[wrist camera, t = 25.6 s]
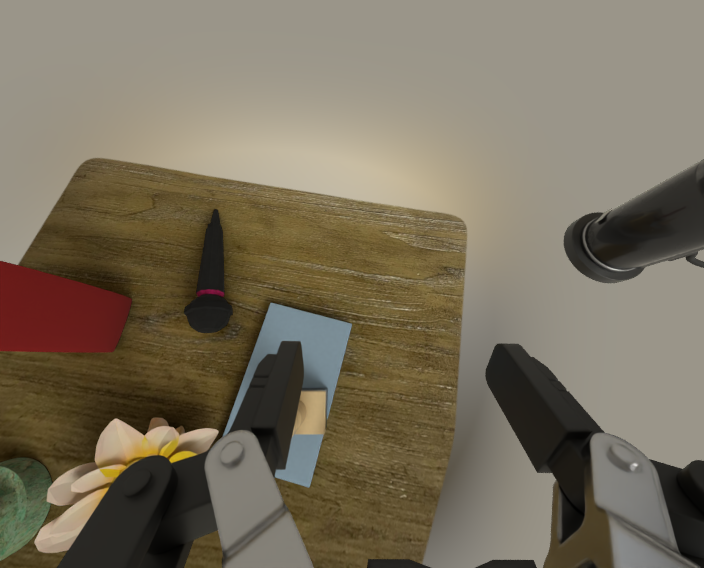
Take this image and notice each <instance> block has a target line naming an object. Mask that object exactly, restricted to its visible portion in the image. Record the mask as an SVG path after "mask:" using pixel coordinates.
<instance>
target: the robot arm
mask: <svg viewBox="0 0 704 568" xmlns="http://www.w3.org/2000/svg"><path fill="white" fill-rule="evenodd" d="M610 210H611V209H610ZM610 210H608V211H606V212H604V213H603V215H602V216H600V217H599V218H596V219H594V220H592V221H590V222H588V223H587V224H586V225H585V226H584V227H583V229H582V231H581V235H580V241H581V246H582V248H583V250H584V252H585V254H586V255H587V257H588V258H589V259H590V260H591V261H592V262H593V263H595V264H596V265H597V266H599V267H601V268H603V269H605V270H608V271H611V272H626V271H629V270H632V269H635V268H636V269H640V268H644V267H647V266H650V265H654V264H657V263H660V262H664V261H667V260H668V261H673V260H676V259H679V258H683V257H686V260H687V261H689V262H690V263H692V264H694V265H696V266H700V267H703V268H704V262H703V261H700V260H698V259H696V258H695V257H696V255H697V254H698V251H700V250H703V249H704V159H703V160H701V161H700V162H698V163H696V164H694V165H693V166H691V167H689V168H687V169H685V170H683V171H682V172H680V173H678V174H676V175H674V176H673V177H671V178H669V179H667V180H665V181H664V182H662V183H660V184H658V185H656V186H654V187H653V188H651V189H649V190H647V191H645V192H644V193H642V194H640V195H638V196H636V197H635V198H633V199H631V200H629V201H628V202H626V203H624V204H622V205H620V206H618V207H617V208H615V209H613V210H611V211H610ZM303 380H304V363H303V354H302V345H301V341H282V342H281V343H280V346H279V349H278V352H277V354H267V355H266V356H265V357H264V358H263V359H262V360H261V361H260V363H259V364H258V366H257V368H256V370H255V373H254V375H253V378H252V380H251V382H250V384H249V388H248V389H247V391H246V394H245V396H244V398H243V401H242V403H241V405H240V408H239V410H238V413H237V415H236V417H235V420H234V422H233V424H232V426H231V428H230V430H229V432H228V433H227V434H226V435H225V436H223V437H222V438H221V439H219V440H218V441H217V442H216V443H215V444H214V446H213V447H212V448H211V449H209V450H207V451H206V452H203V453H201V454H198V455H195V456H191V457H188V458H185V459H182V460H179V461H176V462H173V463H171V462H170V461H169V460H168V459H167V458H166V457H164V456H161V455H153V456H148V457H145V458H143V459H140V460H139V461H137V462H135V463H133V464H132V465H130V466H129V467H128V468H127V469H125V470H124V471H123V472H122V473H121V474H120V475H119V476H118V477H117V478H116V479H115V480H114V482H113V483H112V484H111V486H110V487H109V489H108V490H107V492H106V493H105V495H104V496H103V498H102V499H101V501H100V503H99V504H98V506H97V507H96V509H95V510H94V512H93V513H92V515H91V516H90V518H89V519H88V521H87V522H86V524H85V525H84V527H83V528H82V530H81V532H80V533H79V535H78V536H77V538H76V539H75V541H74V542H73V544H72V545H71V547H70V548H69V550H68V551H67V553H66V554H65V556H64V558H63V559H62V561H61V562H60V564H59V565H58V567H57V568H184V566H185V563H186V560H187V558H188V555H189V552H190V549H191V546H192V543H193V541H194V540H195V539H197V538H199V537H202V536H204V535H207V534H209V533H212V532H214V531H216V530H218V532H219V536H220V541H221V545H222V551H223V558H222V568H314V567H313V565H312V562H311V560H310V558H309V555H308V553H307V550H306V548H305V546H304V543H303V541H302V539H301V536H300V534H299V532H298V529H297V527H296V525H295V522H294V520H293V518H292V516H291V513H290V511H289V509H288V508H287V506H286V505H285V503H284V501H283V499H282V496H281V494H280V492H279V489H278V487H277V484H276V482H275V480H274V477H275V473H276V470H285V469H286V464H287V459H288V454H289V449H290V444H291V439H292V434H293V430H294V425H295V420H296V415H297V410H298V405H299V400H300V395H301V390H302V386H303ZM486 381H487V384H488V386H489V388H490V390H491V391H492V393H493V395H494V397H495V398H496V400H497V402H498V404H499V406H500V407H501V409H502V411H503V412H504V414H505V416H506V418H507V420H508V422H509V423H510V425H511V427H512V429H513V430H514V432H515V434H516V436H517V438H518V439H519V441H520V443H521V444H522V446H523V448H524V450H525V451H526V453H527V455H528V457H529V459H530V461H531V462H532V464H533V466H534V468H535V469H536V471H537V473H553V475H554V477H555V478H556V481H555V483H554V486H553V502H552V524H551V543H550V549H549V552H548V555H547V557H546V560H545V562H544V566H543V568H704V461H701V460H696V461H693V462H691V463H690V464H689V465H687V466H686V467H685V468H684V469H681V468H677V467H674V466H670V465H667V464H664V463H660V462H657V461H654V460H650V459H648V458H647V457H646V456H645V455H644V454H643V453H642V452H641V451H640V450H638V449H637V448H636V447H634V446H633V445H631V444H630V443H628V442H627V441H625V440H623V439H621V438H619V437H616V436H614V435H611V434H607V433H605V432H604V431H603V430H602V429H601V428H600V427H599V426H598V425H597V423H596V422H595V421H594V420H593V419H592V418H591V417H590V415H589V414H588V413H587V412H586V411H585V410H584V409H583V407H582V406H581V405H580V404H579V403H578V402H577V401H576V399H574V397H573V396H572V395H571V394H570V393H569V392H567V391H566V388H565V387H564V386H563V385H562V384H561V382H559V381H558V379H557V378H556V377H555V375H554V374H553V373H552V372H551V371H550V370H549V369H548V367H546V366H545V365H544V364H542V363H541V362H539V361H538V360H537V359H535V358H534V357H530V356H529V355H528V353H527V352H526V351H525V350H524V349H523V348H522V346H521V345H519V344H497V345H496V346H495V348H494V350H493V353H492V356H491V358H490V361H489V363H488V366H487V368H486ZM367 568H430V567H428V566H425V565H422V564H420V563H417V562H414V561H412V560H407V559H368V565H367ZM476 568H537V567H536V565H535V563H534V560H492V561H489V562H487V563H485V564H483V565H480V566H478V567H476Z"/></svg>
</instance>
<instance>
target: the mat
mask: <svg viewBox="0 0 704 568" xmlns="http://www.w3.org/2000/svg"><path fill="white" fill-rule="evenodd" d="M351 326H352V324H351V323H347V322H343V321H339V320H336V319H332V318H328V317H324V316H320V315H317V314H313V313H309V312H305V311H301V310H298V309H294V308H290V307H286V306H283V305H279V304H275V303H270V306H269V309H268V312H267V314H266V317H265V320H264V323H263V326H262V328H261V331H260V334H259V337H258V339H257V342H256V345H255V348H254V351H253V353H252V356H251V359H250V362H249V364H248V367H247V370H246V373H245V376H244V378H243V381H242V384H241V387H240V390H239V392H238V395H237V398H236V401H235V403H234V406H233V409H232V412H231V415H230V417H229V420H228V423H227V426H226V429H225V431H224V434H223V436H225V435H226V434H227V433H228V432H229V430H230V428H231V426H232V424H233V422H234V420H235V417H236V415H237V413H238V410H239V408H240V405H241V403H242V401H243V398H244V396H245V394H246V391H247V389H248V388H249V384H250V382H251V380H252V378H253V375H254V373H255V370H256V368H257V366H258V364H259V363H260V361H261V360H262V359H263V358H264V357H265V356H266V355H267V354H277V352H278V349H279V346H280V343H281V342H282V341H301V345H302V354H303V363H304V380H303V386H302V388H328V403H327V419H328V415H329V411H330V407H331V403H332V399H333V396H334V392H335V388H336V384H337V380H338V376H339V372H340V369H341V365H342V361H343V357H344V353H345V349H346V346H347V342H348V338H349V334H350V330H351ZM322 438H323V434H294V436H293V437H292V439H291V444H290V449H289V454H288V459H287V464H286V469H285V470H276V473H275V477H276V478H280V479H283V480H286V481H289V482H293V483H296V484H299V485H303V486H306V487H310V484H311V480H312V476H313V473H314V469H315V465H316V461H317V457H318V453H319V449H320V446H321V442H322Z"/></svg>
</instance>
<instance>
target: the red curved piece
mask: <svg viewBox="0 0 704 568" xmlns="http://www.w3.org/2000/svg"><path fill="white" fill-rule="evenodd" d="M131 303H132V299H131V298H129V297H126V296H123V295H120V294H117V293H114V292H111V291H108V290H105V289H101V288H98V287H94V286H91V285H88V284H84V283H81V282H77V281H74V280H70V279H66V278H63V277H59V276H56V275H52V274H48V273H45V272H41V271H38V270H34V269H30V268H26V267H22V266H19V265H15V264H11V263H7V262H3V261H0V351H25V352H113V351H114V350H115V348H116V346H117V344H118V342H119V339H120V337H121V334H122V331H123V329H124V326H125V323H126V320H127V317H128V314H129V311H130V307H131Z"/></svg>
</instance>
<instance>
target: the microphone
mask: <svg viewBox="0 0 704 568" xmlns="http://www.w3.org/2000/svg"><path fill="white" fill-rule="evenodd" d="M196 294H197V296H198V297H197V298H196V299H194V300H193V301H192V302H191V303H190V304H189V305H187V306H186V307H185V309H184V314H185V315H186V316H187V319H188V322H189V324H190V326H191V327H192V328H193V329H195V330H196V331H198V332H201V333H213V332H217V331H219V330H221V329H222V328H224V327H225V326H226V325H227V323H228V321H229V318H230V316H231V315H233V309H232V306H231V305H230V304H228V302H227V301H226V299H224V298H223V296H224V295H225V292H224V255H223V231H222V227H221V225H220V219H219V213H218V210H217V209H214V212H213V215H212V219H211V223H210V224H208V228H207V229H206V234H205V240H204V247H203V253H202V259H201V265H200V272H199V278H198V284H197V290H196Z"/></svg>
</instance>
